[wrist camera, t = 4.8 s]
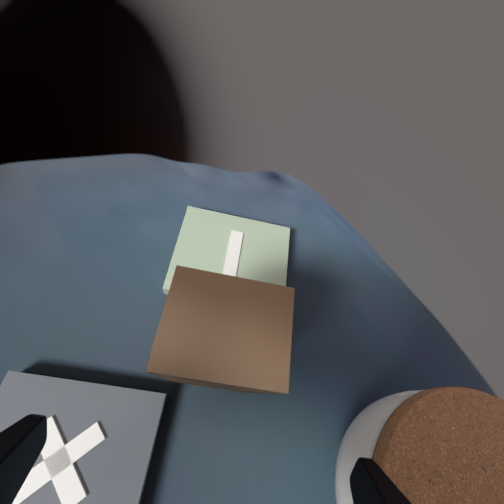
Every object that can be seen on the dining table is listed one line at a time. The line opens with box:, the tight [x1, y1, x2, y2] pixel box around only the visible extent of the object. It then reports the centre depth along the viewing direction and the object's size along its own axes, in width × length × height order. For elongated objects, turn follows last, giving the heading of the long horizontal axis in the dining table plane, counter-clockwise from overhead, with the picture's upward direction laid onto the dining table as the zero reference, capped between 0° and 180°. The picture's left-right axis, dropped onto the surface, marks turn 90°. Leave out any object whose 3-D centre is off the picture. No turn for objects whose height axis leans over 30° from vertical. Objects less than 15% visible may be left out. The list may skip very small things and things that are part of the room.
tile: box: [0, 371, 168, 504], centre depth 15 cm, size 8×9×1 cm
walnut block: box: [145, 265, 295, 394], centre depth 15 cm, size 4×5×10 cm
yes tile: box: [163, 206, 290, 294], centre depth 22 cm, size 8×9×1 cm
